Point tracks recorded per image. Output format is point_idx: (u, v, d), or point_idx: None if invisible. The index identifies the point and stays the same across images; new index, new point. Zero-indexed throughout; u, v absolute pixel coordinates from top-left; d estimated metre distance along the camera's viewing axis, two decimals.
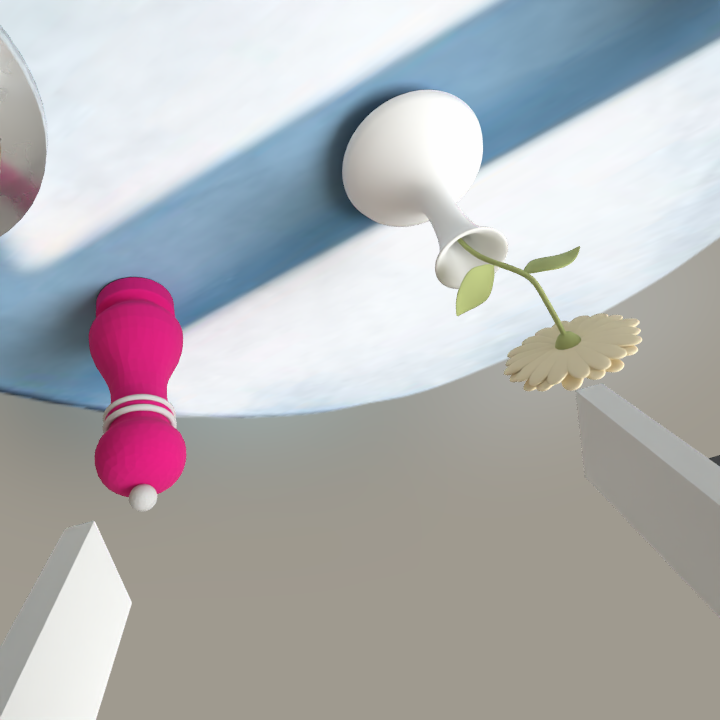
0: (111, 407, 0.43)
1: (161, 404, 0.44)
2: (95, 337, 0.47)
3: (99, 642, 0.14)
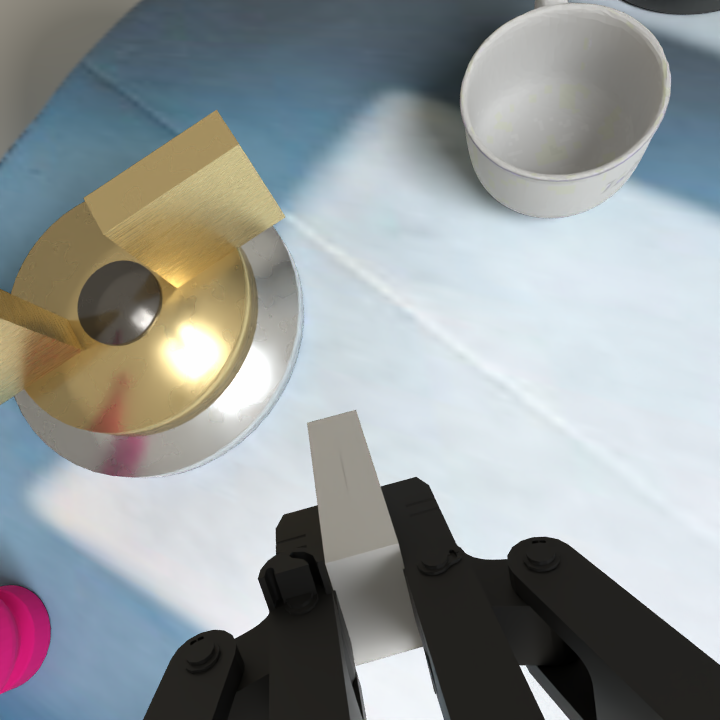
0: None
1: None
2: None
3: None
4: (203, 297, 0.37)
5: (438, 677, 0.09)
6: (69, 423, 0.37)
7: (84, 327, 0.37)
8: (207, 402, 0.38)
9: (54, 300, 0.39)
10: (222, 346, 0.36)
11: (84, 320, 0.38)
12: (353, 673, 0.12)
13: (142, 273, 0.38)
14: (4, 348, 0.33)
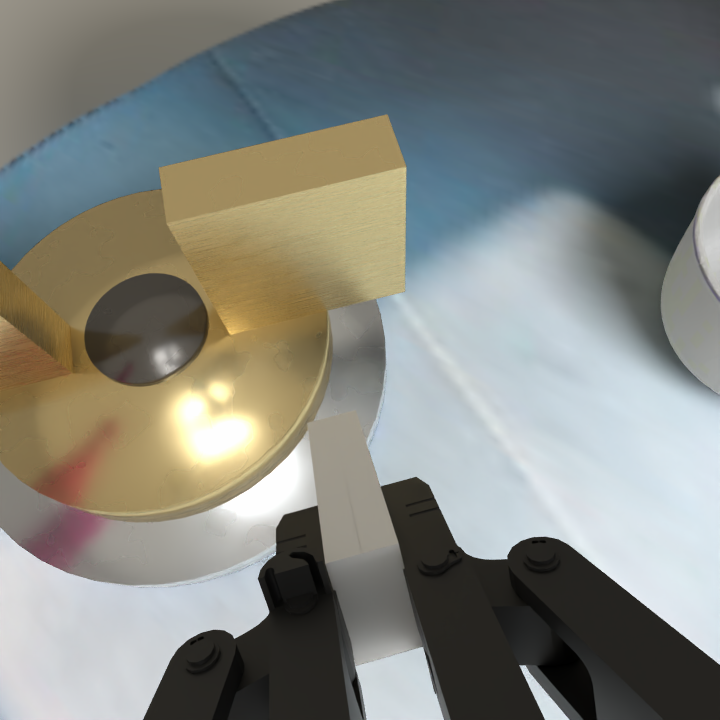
0: None
1: None
2: None
3: None
4: (260, 358, 0.26)
5: (438, 677, 0.09)
6: (11, 468, 0.25)
7: (87, 344, 0.27)
8: (212, 503, 0.26)
9: (64, 296, 0.28)
10: (263, 434, 0.25)
11: (91, 335, 0.27)
12: (353, 673, 0.12)
13: (191, 300, 0.27)
14: None
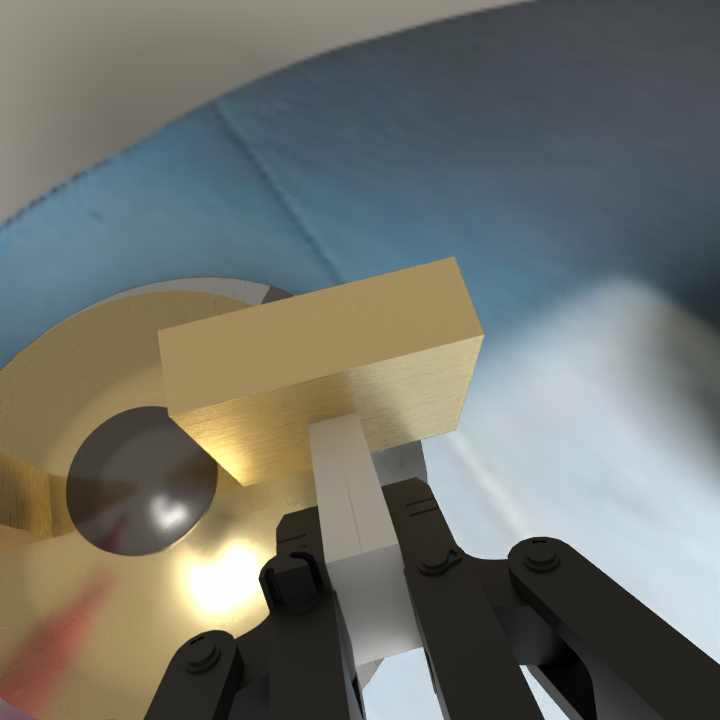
0: None
1: None
2: None
3: None
4: None
5: (438, 677, 0.09)
6: None
7: (69, 501, 0.22)
8: None
9: (42, 432, 0.23)
10: None
11: (74, 489, 0.22)
12: (353, 673, 0.12)
13: (197, 443, 0.22)
14: None
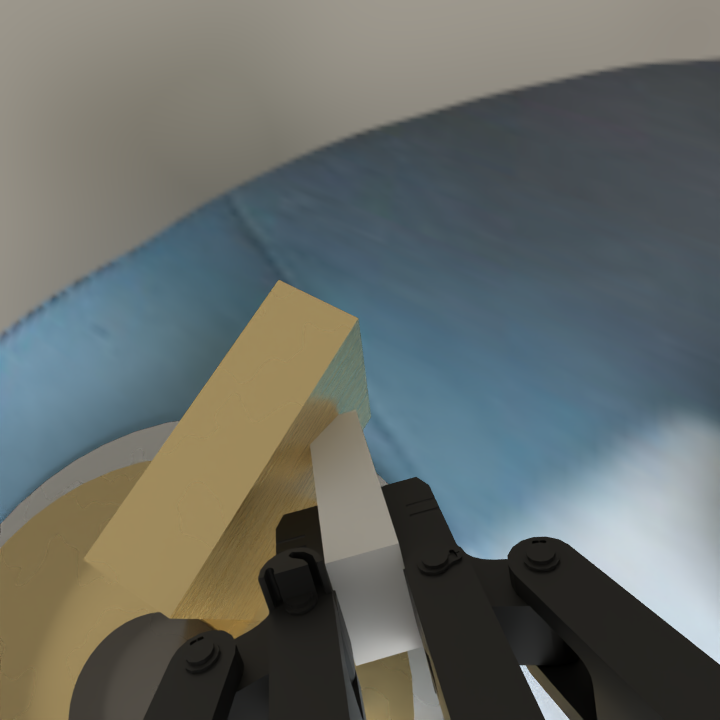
0: None
1: None
2: None
3: None
4: None
5: (438, 677, 0.09)
6: None
7: None
8: None
9: None
10: (392, 684, 0.19)
11: None
12: (353, 673, 0.12)
13: (178, 626, 0.20)
14: None
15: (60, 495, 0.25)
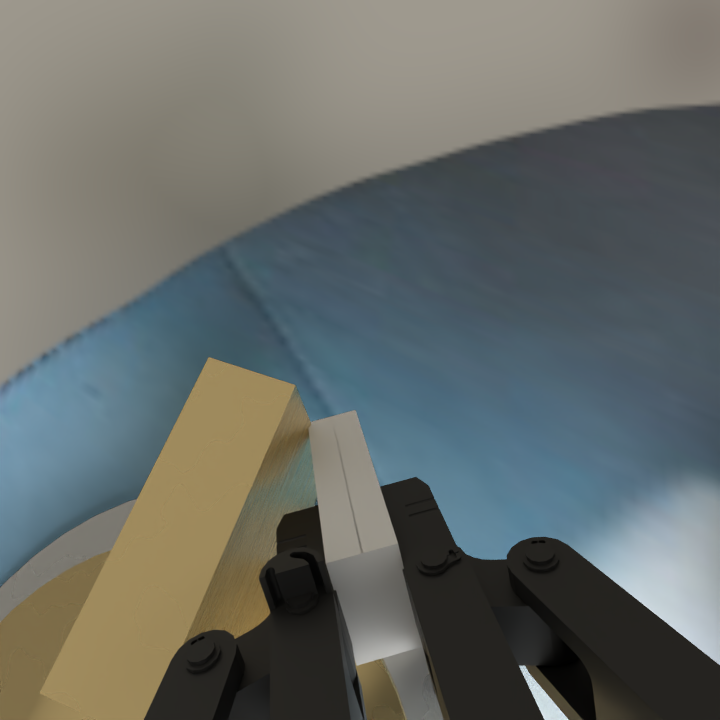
0: None
1: None
2: None
3: None
4: None
5: (437, 677, 0.09)
6: None
7: None
8: None
9: None
10: None
11: None
12: (354, 673, 0.12)
13: None
14: None
15: (49, 571, 0.24)
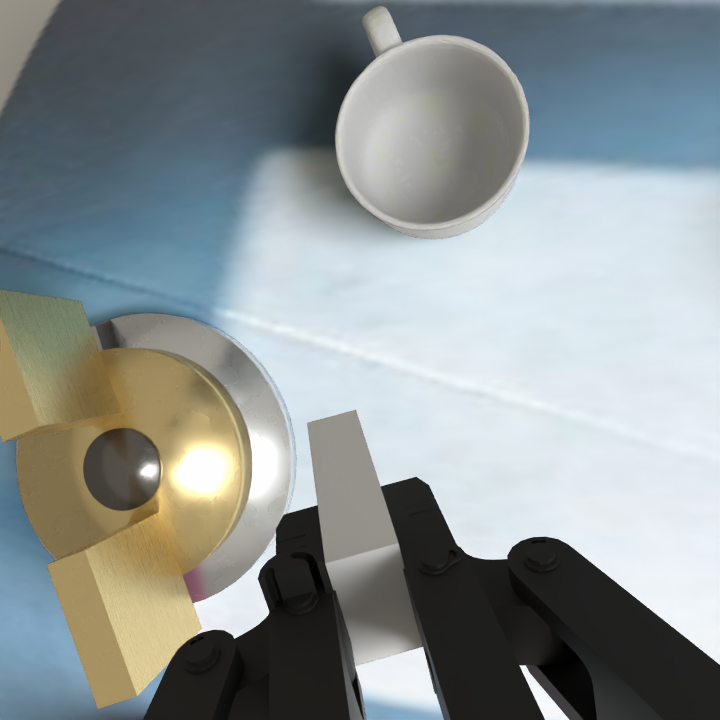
0: None
1: None
2: None
3: None
4: (136, 388, 0.40)
5: (438, 677, 0.09)
6: (222, 533, 0.39)
7: (137, 505, 0.40)
8: (233, 406, 0.41)
9: (106, 535, 0.41)
10: (183, 376, 0.40)
11: (130, 504, 0.40)
12: (353, 673, 0.12)
13: (100, 442, 0.40)
14: (130, 561, 0.35)
15: None
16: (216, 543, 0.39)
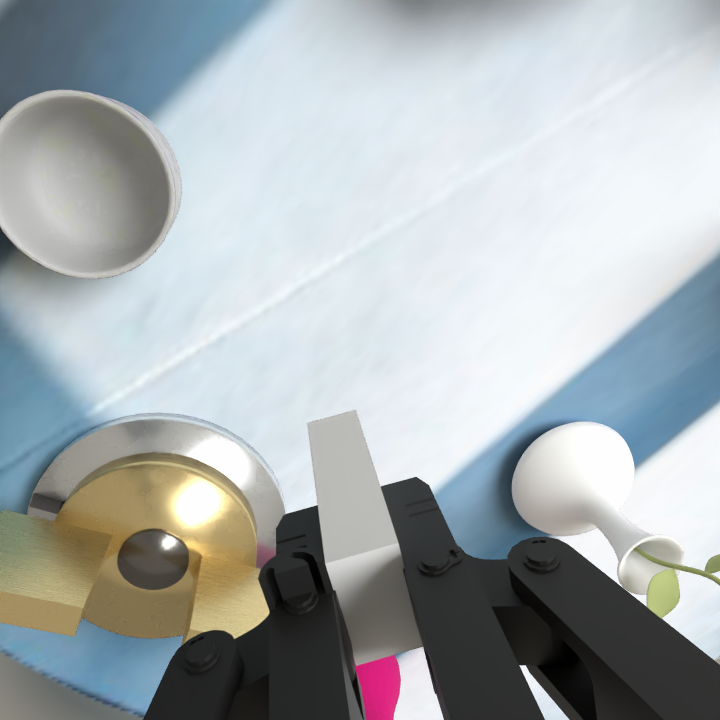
0: None
1: None
2: None
3: None
4: (103, 514, 0.46)
5: (438, 677, 0.09)
6: (249, 525, 0.48)
7: (186, 566, 0.48)
8: (170, 457, 0.48)
9: (190, 596, 0.50)
10: (121, 479, 0.46)
11: (182, 570, 0.48)
12: (353, 673, 0.12)
13: (122, 562, 0.47)
14: (219, 600, 0.45)
15: None
16: (252, 533, 0.49)
